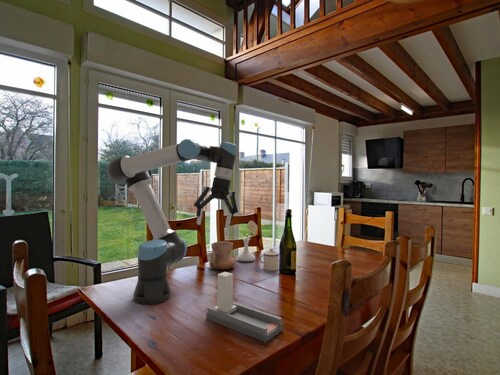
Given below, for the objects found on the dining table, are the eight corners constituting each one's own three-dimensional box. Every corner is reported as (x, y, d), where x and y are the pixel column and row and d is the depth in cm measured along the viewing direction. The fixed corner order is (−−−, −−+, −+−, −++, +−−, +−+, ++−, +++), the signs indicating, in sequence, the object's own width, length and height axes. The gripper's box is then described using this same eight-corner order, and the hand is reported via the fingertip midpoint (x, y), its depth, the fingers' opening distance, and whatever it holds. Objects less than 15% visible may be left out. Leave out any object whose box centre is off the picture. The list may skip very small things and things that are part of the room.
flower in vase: (240, 263, 178) (241, 222, 177) (234, 259, 188) (234, 220, 188) (260, 261, 183) (261, 221, 182) (252, 257, 193) (253, 219, 193)
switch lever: (213, 311, 107) (213, 274, 107) (224, 305, 112) (224, 270, 112) (225, 315, 103) (226, 277, 103) (236, 310, 108) (237, 273, 108)
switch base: (206, 318, 106) (206, 307, 106) (224, 309, 114) (224, 298, 114) (266, 342, 91) (266, 330, 91) (282, 330, 99) (283, 318, 99)
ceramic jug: (222, 262, 180) (222, 239, 180) (241, 266, 172) (241, 242, 171) (201, 270, 166) (200, 244, 165) (220, 274, 157) (220, 248, 157)
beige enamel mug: (281, 267, 170) (281, 247, 170) (275, 272, 162) (275, 251, 162) (262, 264, 176) (262, 245, 176) (255, 268, 168) (255, 248, 168)
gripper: (198, 173, 119) (188, 224, 119) (251, 183, 132) (241, 230, 132) (192, 172, 126) (182, 221, 126) (243, 182, 138) (234, 226, 138)
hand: (212, 226), depth 129 cm, fingers open, 13 cm apart
